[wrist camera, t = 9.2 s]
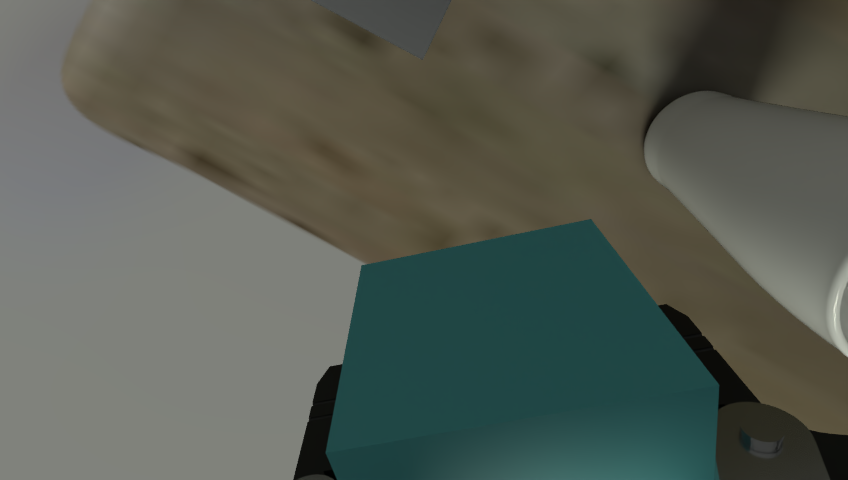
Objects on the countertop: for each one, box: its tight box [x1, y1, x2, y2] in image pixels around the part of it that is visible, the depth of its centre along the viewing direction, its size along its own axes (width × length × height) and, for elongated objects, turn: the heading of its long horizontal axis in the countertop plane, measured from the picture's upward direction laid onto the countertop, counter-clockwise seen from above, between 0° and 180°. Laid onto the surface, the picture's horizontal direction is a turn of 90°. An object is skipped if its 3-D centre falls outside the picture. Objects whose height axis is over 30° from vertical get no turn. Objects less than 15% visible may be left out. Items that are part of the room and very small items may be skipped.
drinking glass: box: [644, 91, 848, 357], centre depth 20 cm, size 7×7×15 cm
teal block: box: [326, 219, 719, 480], centre depth 10 cm, size 5×5×5 cm
